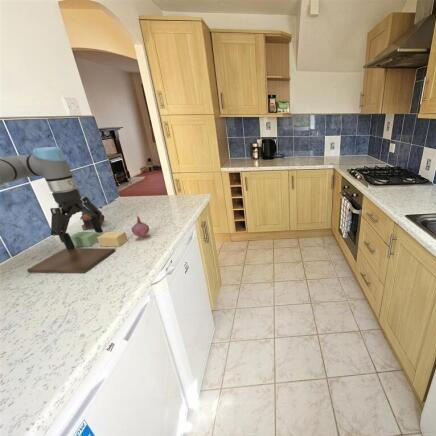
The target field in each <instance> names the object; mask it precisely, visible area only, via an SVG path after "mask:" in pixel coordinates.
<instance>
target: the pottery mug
mask: <svg viewBox="0 0 436 436" xmlns="http://www.w3.org/2000/svg"><path fill="white" fill-rule="evenodd" d="M100 212H101V213H102V214H101V215H100V216H101V217H100V218H99V220H100V223H101V224H100V225H101V226H102V225H103V223H104V222H105V215H104V214H103V212H102V211H100ZM90 219H92V217H90V216H88V215H86V214H84V213H82V212H81V216H80V217H79V220H81V221H82V223H83V224H82V225H81V228H82V230H84V231H85V230H92V229H94V227H93V225H92V222H91V220H90Z"/></svg>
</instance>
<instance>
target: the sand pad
mask: <svg viewBox="0 0 436 436" xmlns="http://www.w3.org/2000/svg"><path fill="white" fill-rule="evenodd" d="M98 236H99V237H97V239H98V242H97V243H98V244H99V246H100V247H121V246H122V245H123V244H125V243H126V242H128V241H129V239H128V237H127V233H126V231H105V232H103V233H101V235H98Z"/></svg>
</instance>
